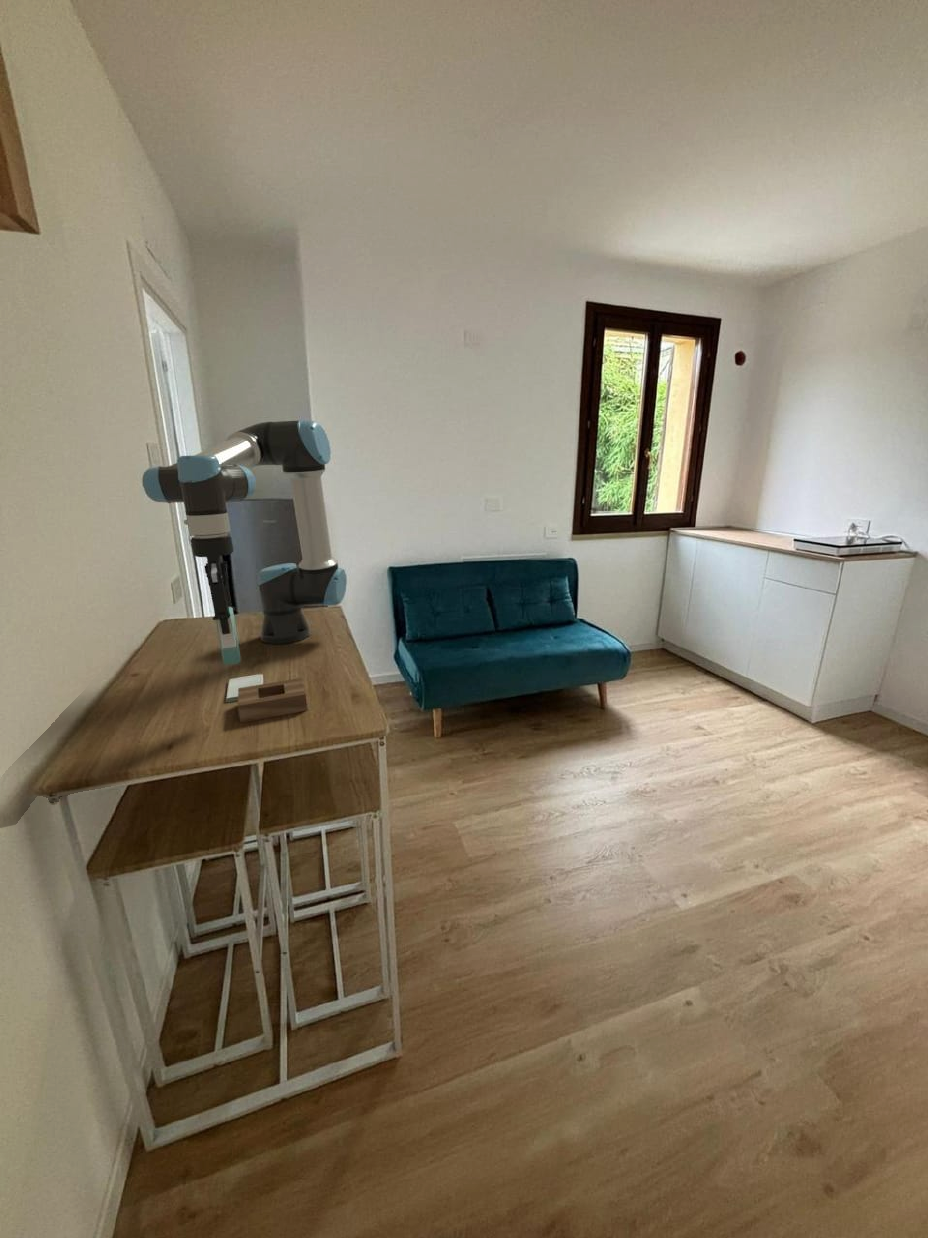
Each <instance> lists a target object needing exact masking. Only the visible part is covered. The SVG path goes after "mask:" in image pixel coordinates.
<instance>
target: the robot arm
mask: <svg viewBox="0 0 928 1238" xmlns="http://www.w3.org/2000/svg"><path fill="white" fill-rule="evenodd" d="M331 453H332V452H331V446H330V441H329V437H328V436H327V433H326V431H325V429H324V427H323V426H322V425H321V424H320V423H318V422H317V421H314V420H306V419H305V420H304V419H300V420H287V421H286V420H284V421H282V420H281V421H263V422H260V423H256V424H252V425H250V426H247V427H245V428H243V429H239V430H238V431H235V432H233V433H231V434H230V435H229V436H228V437H227V438H226V441H224V442H221V443H219V444H216V445H214V446H212V447H210V448H209V449H206V450H203V451H200V452H199V453H197V454H194V455H180V456H178V458H177V459H176V463H173V464H171V465H167V466H160V465H159V466H157V467H156V466H155V467H149V468H147V469H146V470H145V471H144V472H143V475H142V481H141V482H142V488H143V490H144V493H145V494H146V496H147V497H148V498H149V499H150V500H152V502H156V503H167V504H172V503H183V505H184V509H185V510H184V512H185V515H186V519H184V520H183V524H184V525H188V532H189V533H188V534H189V535H191V536H193V537H191V538H190V545H191V549H192V555H194V557H195V558H196V557H197V558H206V562H207V563H205V565H204V572H205V574H206V576H205V577H206V578H207V582H208V586H209V590H210V596H211V600H212V601H211V602H212V607H213V613H214V612H215V613H214V616H212V620H213V621H216V620H217V623H218V629H219V634H220V640H221V645H222V649H224V648H231V647H236V642H235V636H234V630H233V624H232V618H231V617H230V613H229V607H232V608H233V612H234V611H236V606H233V602H232V597H231V592H230V586H229V575H228V562H227V561H224V559H223V556H228V555H231V554H233V553H234V543H233V540H232V536H231V535H230V534H229V533H230V532H231V531H232V530H231V524H230V519H229V512H228V509H227V503H229V502H235V501H239V502H242V501H243V500H246V499H249V498H250V497H252V496H253V495H254V494H255V491H256V489H257V481H256V476H255V475H254V473H253V472H252V471H251V470H250V469H253V468H255V467H258V466H260V467H261V466H282V473H283V474H284V475H286V477H288V478H289V481H290V482H289V483H290V486H291V487H290V488H291V494H292V500H293V507H294V513H295V519H296V525H297V533H298V538H299V545H300V550H301V557H302V560H301V561H300V562H299V563H298V566H297V564H296V563H294V562H289V563H281V564H276V565H271V566H268V567H265V568H262V569H260V571H259V572H258V574H257V579H258V581H257V582H258V587H259V595H260V600H261V608H262V612H263V613H262V614H263V617H262V623H261V626H260V627H261V628H260V640H261V641H262V642H263V643H265V644H271V645H281V644H282V645H283V644H290V643H294V642H298V641H301V640H305V639H306V638H308V637H309V636H310V635H311V628H310V625H309V623H308V621H307V618H306V617H305V615H304V613H303V609H302V607H306V606H307V607H309V606H310V607H312V606H313V607H314V606H315V607H331V606H332V607H333V606H338V605H339V604H341V602H342V601H343V600H344V597H345V594H346V590H347V583H348V582H347V577H348V576H347V573H346V570H345V569H344V568H342V567H339V563H338V560H337V559H335V558H334V557H333V556H332V550H331V543H330V535H329V528H328V527H329V526H328V519H327V513H326V512H327V511H326V506H325V498H324V492H323V491H324V489H323V485H322V484H323V483H322V475H323V474H324V473H325V471H326V464H327V465H328V464H329V462H330V461H331Z"/></svg>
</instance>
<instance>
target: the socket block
mask: <svg viewBox="0 0 928 1238" xmlns="http://www.w3.org/2000/svg"><path fill="white" fill-rule="evenodd" d="M305 690H306V689H305V686H304V683H303V678H302V677H297V678H290V679H285V680H278V681H274V682H273V681H272V682H268V683H267V682H266V683H263V684H260V685H255V686H249V687H243V688H238V701H237V709H238V710H237V711H238V717H239V721H240V724H244V723H248V722H255V721H259V720H262V719H269V718H273V717H279V716H285V715H289V714H295V713H300V712H306V711H308V701H307V693H306V691H305Z"/></svg>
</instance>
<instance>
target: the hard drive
mask: <svg viewBox="0 0 928 1238" xmlns="http://www.w3.org/2000/svg"><path fill="white" fill-rule="evenodd" d="M227 683H228V685H227V690H226V697H225V698H226V699H225V702H226V703H231V702H238V688H243V687H249V686H255V685H260V684H264V675H263V674H261V673H259V674H252V675H246V676H241V677H234V678H230V679H228V682H227Z"/></svg>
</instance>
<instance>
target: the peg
mask: <svg viewBox="0 0 928 1238" xmlns="http://www.w3.org/2000/svg"><path fill="white" fill-rule="evenodd" d="M232 607H233V606H231V607H229V613H230V617H231V618H232V624H233V630H234V636H235V642H236V647H231V648H224V649H222V645H221V640H220V634H219V629H218V623H217V620H215V624H216V630H217V635H218V636H217V637H218V642H219V647H220V653H221V658H222V664H223V665H224V666H232V665H236V664H239V663H241V662H242V658H241V652H240V645H239V638H238V634H237V628H236V621H235V616H234V615H235V614H234V611H233V608H232ZM213 613H214V614H215V612H214V611H213Z"/></svg>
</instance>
